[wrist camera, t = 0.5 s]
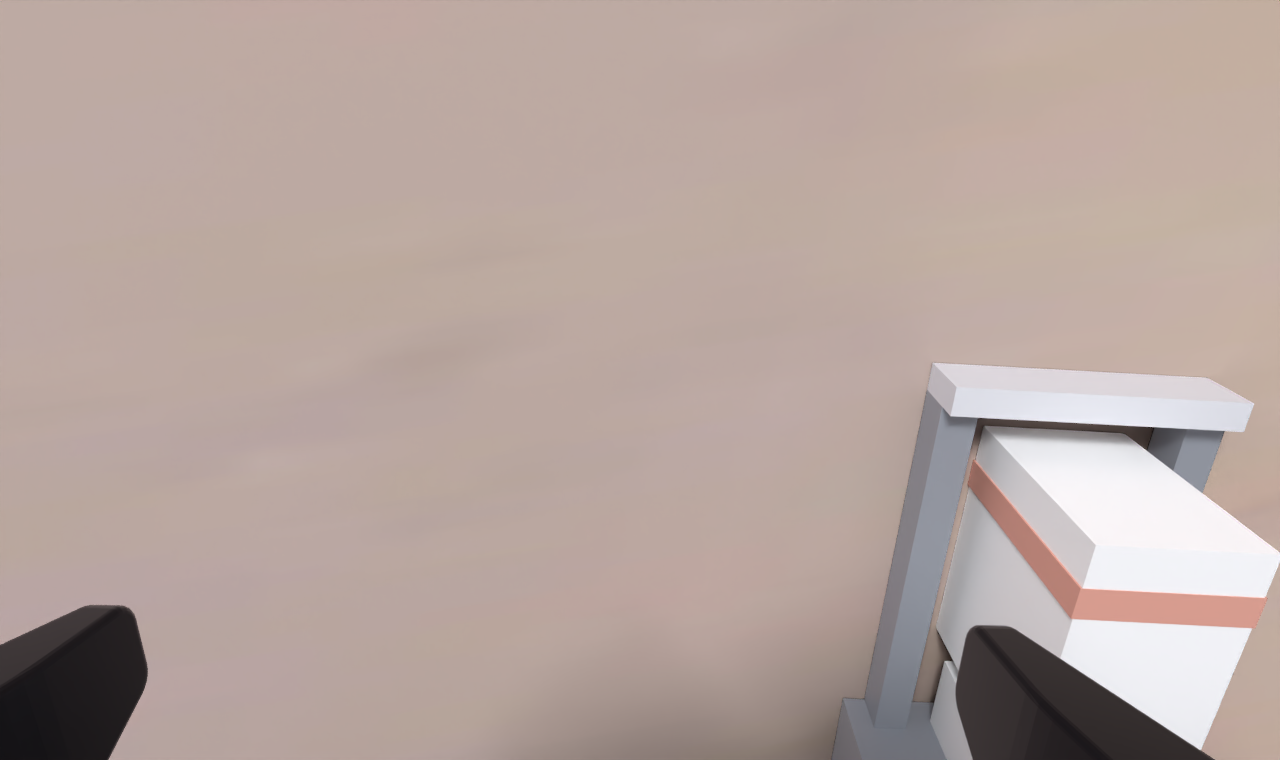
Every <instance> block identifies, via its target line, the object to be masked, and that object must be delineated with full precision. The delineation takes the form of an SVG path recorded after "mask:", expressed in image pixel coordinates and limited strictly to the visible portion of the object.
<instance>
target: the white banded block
mask: <svg viewBox="0 0 1280 760" xmlns="http://www.w3.org/2000/svg"><path fill="white" fill-rule="evenodd" d="M968 485H969V490H968V494H967V498H966V502H965V506H964V511H963V515H962V519H961V523H960V527H959V532H958V536H957V540H956V544H955V548H954V553H953V557H952V561H951V565H950V570H949V574H948V578H947V582H946V586H945V591H944V595H943V599H942V603H941V607H940V612H939V616H938V620H937V624H936V628H937V630H938V632H939V634H940V636H941V638H942V640H943V642H944V644H945V646H946V648H947V650H948V652H949V653H950V655H951V657H952V659H953V661H954V663H955V665H956V667H957V669H958V671H959V667H960V662H961V657H962V652H963V648H964V643H965V638H966V635H967V633H968V631H969V629H970V628H972V627H973V626H975V625H1002V626H1009V627H1012V628H1014V629H1016V630H1017V631H1019V632H1021V633H1022V634H1024V635H1025V636H1027V637H1028V638H1030V639H1031V640H1033V641H1034V642H1036V643H1037V644H1039V645H1040V646H1042V647H1043V648H1045V649H1046V650H1048V651H1050V652H1051V653H1053V654H1054V655H1056V656H1057V657H1059V658H1060V659H1062V660H1063V661H1065V662H1066V663H1068V664H1069V665H1071V666H1072V667H1074V668H1076V669H1077V670H1079V671H1080V672H1082V673H1083V674H1085V675H1086V676H1088V677H1089V678H1091V679H1092V680H1094V681H1095V682H1097V683H1098V684H1100V685H1102V686H1103V687H1105V688H1106V689H1108V690H1109V691H1111V692H1112V693H1114V694H1115V695H1117V696H1118V697H1120V698H1121V699H1123V700H1124V701H1126V702H1127V703H1129V704H1131V705H1132V706H1134V707H1135V708H1137V709H1138V710H1140V711H1141V712H1143V713H1144V714H1146V715H1147V716H1149V717H1150V718H1152V719H1153V720H1155V721H1157V722H1158V723H1160V724H1161V725H1163V726H1164V727H1166V728H1167V729H1169V730H1170V731H1172V732H1173V733H1175V734H1176V735H1178V736H1179V737H1181V738H1182V739H1184V740H1186V741H1187V742H1189V743H1190V744H1192V745H1193V746H1195V747H1196V748H1198V749H1199V750H1201V749H1202V746H1203V744H1204V741H1205V739H1206V737H1207V734H1208V732H1209V730H1210V727H1211V725H1212V722H1213V720H1214V718H1215V715H1216V713H1217V710H1218V708H1219V706H1220V703H1221V701H1222V699H1223V696H1224V694H1225V691H1226V689H1227V687H1228V684H1229V682H1230V679H1231V677H1232V675H1233V672H1234V670H1235V668H1236V665H1237V663H1238V660H1239V658H1240V656H1241V653H1242V651H1243V648H1244V646H1245V644H1246V641H1247V639H1248V637H1249V634H1250V632H1251V629H1252V628H1255V627H1256V625H1257V623H1258V620H1259V618H1260V616H1261V613H1262V611H1263V608H1264V606H1265V604H1266V601H1267V599H1268V598H1267V597H1265V596H1266V594H1267V591H1268V589H1269V587H1270V584H1271V582H1272V579H1273V577H1274V575H1275V572H1276V570H1277V567H1278V565H1279V563H1280V553H1279V552H1278V551H1277V550H1276V549H1274V548H1273V547H1272V546H1270V545H1269V544H1268V543H1266V542H1265V541H1264V540H1262V539H1261V538H1260V537H1259V536H1257V535H1256V534H1255V533H1253V532H1252V531H1251V530H1249V529H1248V528H1247V527H1246V526H1244V525H1243V524H1242V523H1240V522H1239V521H1238V520H1236V519H1235V518H1234V517H1232V516H1231V515H1230V514H1229V513H1227V512H1226V511H1225V510H1223V509H1222V508H1221V507H1219V506H1218V505H1217V504H1216V503H1214V502H1213V501H1212V500H1210V499H1209V498H1208V497H1206V496H1205V495H1204V494H1202V493H1201V492H1200V491H1199V490H1197V489H1196V488H1195V487H1193V486H1192V485H1191V484H1189V483H1188V482H1187V481H1186V480H1184V479H1183V478H1182V477H1180V476H1179V475H1178V474H1176V473H1175V472H1174V471H1172V470H1171V469H1170V468H1169V467H1167V466H1166V465H1165V464H1163V463H1162V462H1161V461H1159V460H1158V459H1157V458H1156V457H1154V456H1153V455H1152V454H1150V453H1149V452H1148V451H1146V450H1145V449H1144V448H1142V447H1141V446H1140V445H1139V444H1137V443H1136V442H1135V441H1133V440H1132V439H1131V438H1129V437H1128V436H1127V435H1126V434H1124V433H1110V432H1091V431H1072V430H1054V429H1035V428H1017V427H998V426H983V431H982V435H981V439H980V443H979V447H978V452H977V456H976V460H973V464H972V468H971V472H970V477H969V481H968Z"/></svg>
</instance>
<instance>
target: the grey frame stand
mask: <svg viewBox="0 0 1280 760" xmlns="http://www.w3.org/2000/svg"><path fill="white" fill-rule="evenodd" d="M1253 406H1254V403H1252V402H1251V401H1249V400H1247V399H1245V398H1243V397H1242V396H1240V395H1238V394H1236V393H1234V392H1232V391H1231V390H1229V389H1227V388H1225V387H1223V386H1221V385H1220V384H1218V383H1216V382H1214V381H1212V380H1210V379H1209V378H1203V377H1184V376H1166V375H1148V374H1130V373H1111V372H1093V371H1075V370H1056V369H1038V368H1020V367H1002V366H983V365H965V364H947V363H933V364H932V369H931V373H930V378H929V383H928V388H927V393H926V398H925V403H924V408H923V413H922V418H921V423H920V428H919V432H918V437H917V442H916V447H915V452H914V457H913V462H912V467H911V472H910V477H909V482H908V487H907V491H906V496H905V501H904V506H903V511H902V516H901V521H900V526H899V531H898V536H897V541H896V546H895V551H894V555H893V560H892V565H891V570H890V575H889V580H888V585H887V590H886V595H885V600H884V605H883V610H882V614H881V619H880V624H879V629H878V634H877V639H876V644H875V649H874V654H873V659H872V664H871V669H870V673H869V678H868V683H867V688H866V693H865V698H864V699H847V698H843V701H842V706H841V712H840V717H839V722H838V727H837V733H836V738H835V743H834V748H833V754H832V759H831V760H973V759H972V756H971V752H970V749H969V746H968V743H967V739H966V736H965V733H964V729H963V726H962V723H961V719H960V716H959V713H958V709H957V704H956V696H955V687H956V681H957V676H958V669H957V667H956V665H955V663H954V661H944V665H943V669H942V673H941V678H940V682H939V686H938V690H937V694H936V698H935V702H934V703H928V702H912V700H913V695H914V691H915V687H916V683H917V678H918V674H919V670H920V665H921V661H922V657H923V652H924V648H925V644H926V639H927V635H928V631H929V627H930V622H931V618H932V614H933V609H934V605H935V601H936V596H937V592H938V588H939V583H940V579H941V575H942V570H943V566H944V562H945V558H946V553H947V549H948V545H949V540H950V536H951V532H952V527H953V523H954V519H955V514H956V510H957V506H958V502H959V497H960V493H961V489H962V484H963V480H964V476H965V471H966V467H967V463H968V458H969V454H970V450H971V445H972V441H973V437H974V433H975V428H976V424H977V420H978V418H993V419H1011V420H1030V421H1049V422H1067V423H1086V424H1104V425H1123V426H1141V427H1155V428H1154V431H1153V434H1152V437H1151V440H1150V443H1149V446H1148V449H1147V451H1148V452H1149V453H1150V454H1152V455H1153V456H1154V457H1156V458H1157V459H1158V460H1159V461H1161V462H1162V463H1163V464H1165V465H1166V466H1167V467H1169V468H1170V469H1171V470H1172V471H1174V472H1175V473H1176V474H1178V475H1179V476H1180V477H1182V478H1183V479H1184V480H1186V481H1187V482H1188V483H1189V484H1191V485H1192V486H1193V487H1195V488H1196V489H1197V490H1199V491H1200V492H1201V493H1202V492H1203V490H1204V487H1205V484H1206V481H1207V479H1208V476H1209V473H1210V470H1211V467H1212V465H1213V462H1214V459H1215V456H1216V454H1217V451H1218V448H1219V445H1220V442H1221V440H1222V437H1223V434H1224V431H1234V432H1244V430H1245V427H1246V424H1247V422H1248V419H1249V416H1250V414H1251V411H1252V408H1253Z"/></svg>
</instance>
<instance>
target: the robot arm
mask: <svg viewBox="0 0 1280 760" xmlns="http://www.w3.org/2000/svg"><path fill="white" fill-rule="evenodd" d="M147 676H148V668H147V662H146V658H145V654H144V650H143V646H142V642H141V638H140V634H139V630H138V625H137V621H136V618H135V615H134V613H133V612H132V611H131V610H130V609H129V608H127V607H125V606H120V605H89V606H84V607H82V608H79V609H77V610H75V611H73V612H71V613H69V614H66V615H64V616H62V617H60V618H58V619H56V620H53V621H51V622H49V623H47V624H45V625H43V626H40V627H38V628H36V629H34V630H32V631H30V632H27V633H25V634H23V635H21V636H19V637H17V638H14V639H12V640H10V641H8V642H6V643H4V644H1V645H0V760H108V759H109V757H110V755H111V754H112V752H113V750H114V748H115V746H116V744H117V742H118V740H119V738H120V736H121V734H122V732H123V730H124V728H125V726H126V724H127V722H128V720H129V719H130V717H131V715H132V713H133V711H134V709H135V707H136V705H137V703H138V701H139V699H140V697H141V695H142V693H143V691H144V688H145V685H146V682H147ZM955 696H956V704H957V709H958V713H959V716H960V719H961V723H962V726H963V729H964V733H965V736H966V739H967V743H968V746H969V749H970V752H971V756H972V759H973V760H1215V759H1213V758H1212V757H1210V756H1208V755H1207V754H1205V753H1204V752H1202V751H1201V750H1199V749H1198V748H1196V747H1195V746H1193V745H1192V744H1190V743H1189V742H1187V741H1186V740H1184V739H1182V738H1181V737H1179V736H1178V735H1176V734H1175V733H1173V732H1172V731H1170V730H1169V729H1167V728H1166V727H1164V726H1163V725H1161V724H1160V723H1158V722H1157V721H1155V720H1153V719H1152V718H1150V717H1149V716H1147V715H1146V714H1144V713H1143V712H1141V711H1140V710H1138V709H1137V708H1135V707H1134V706H1132V705H1131V704H1129V703H1127V702H1126V701H1124V700H1123V699H1121V698H1120V697H1118V696H1117V695H1115V694H1114V693H1112V692H1111V691H1109V690H1108V689H1106V688H1105V687H1103V686H1102V685H1100V684H1098V683H1097V682H1095V681H1094V680H1092V679H1091V678H1089V677H1088V676H1086V675H1085V674H1083V673H1082V672H1080V671H1079V670H1077V669H1076V668H1074V667H1072V666H1071V665H1069V664H1068V663H1066V662H1065V661H1063V660H1062V659H1060V658H1059V657H1057V656H1056V655H1054V654H1053V653H1051V652H1050V651H1048V650H1046V649H1045V648H1043V647H1042V646H1040V645H1039V644H1037V643H1036V642H1034V641H1033V640H1031V639H1030V638H1028V637H1027V636H1025V635H1024V634H1022V633H1021V632H1019V631H1017V630H1016V629H1014V628H1012V627H1009V626H1002V625H975V626H973V627H972V628H970V629H969V631H968V633H967V635H966V638H965V643H964V648H963V652H962V657H961V662H960V667H959V671H958V676H957V681H956V687H955Z"/></svg>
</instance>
